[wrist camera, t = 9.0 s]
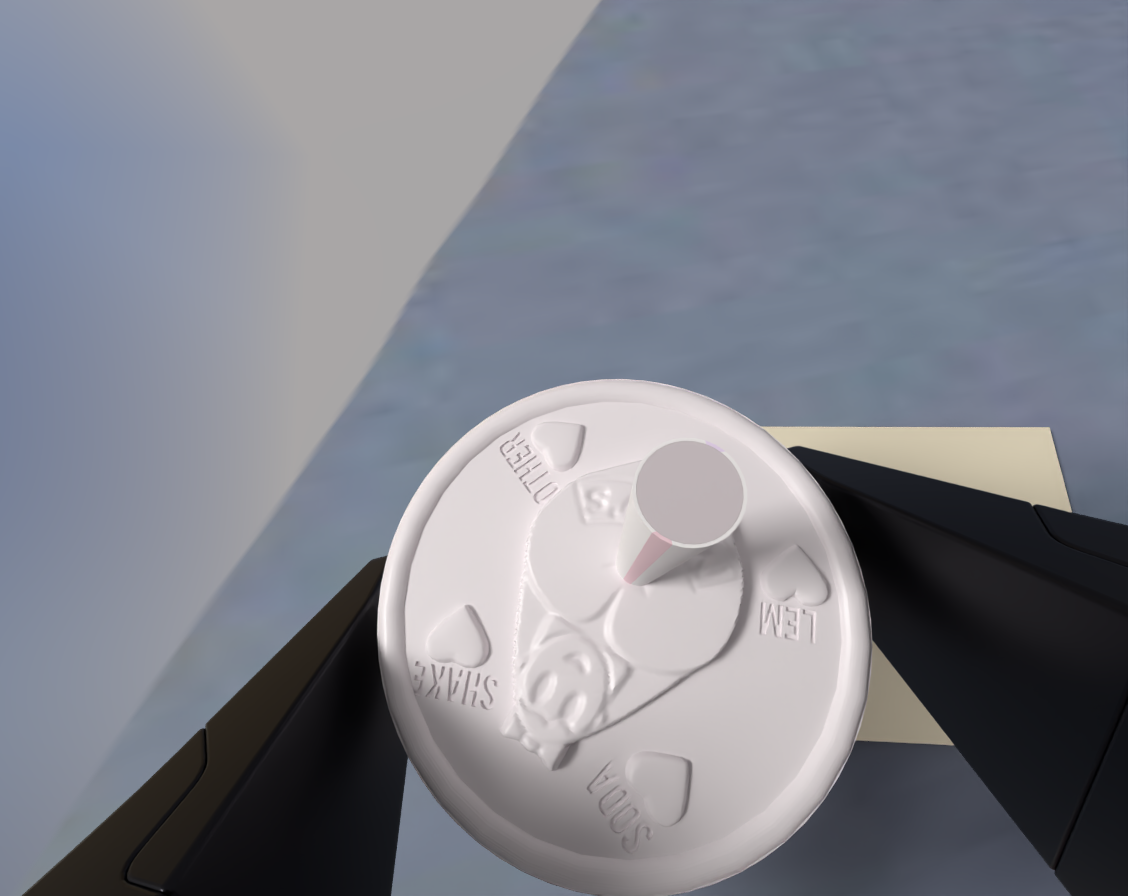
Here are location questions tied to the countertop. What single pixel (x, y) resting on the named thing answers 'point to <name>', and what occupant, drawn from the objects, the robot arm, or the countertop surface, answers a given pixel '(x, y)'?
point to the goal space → (952, 455)
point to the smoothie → (624, 638)
